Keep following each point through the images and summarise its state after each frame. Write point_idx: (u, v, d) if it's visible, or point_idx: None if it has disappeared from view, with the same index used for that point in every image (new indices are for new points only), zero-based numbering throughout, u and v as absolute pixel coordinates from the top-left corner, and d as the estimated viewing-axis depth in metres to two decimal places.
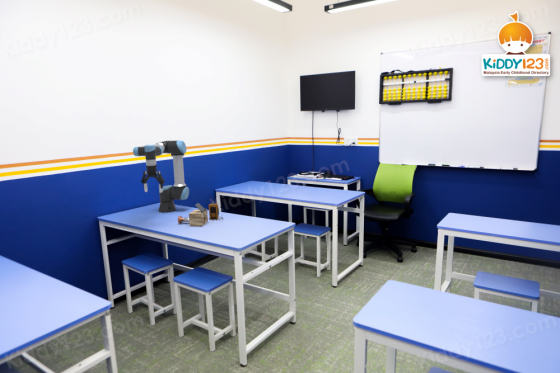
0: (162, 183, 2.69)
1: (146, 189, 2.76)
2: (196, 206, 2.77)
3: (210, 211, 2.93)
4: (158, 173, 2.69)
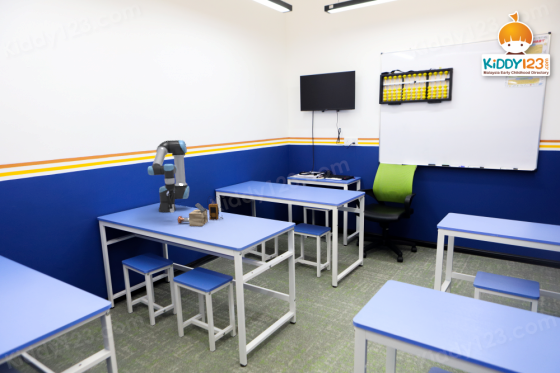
0: (168, 204, 2.81)
1: None
2: (196, 206, 2.77)
3: (210, 211, 2.93)
4: (166, 195, 2.77)
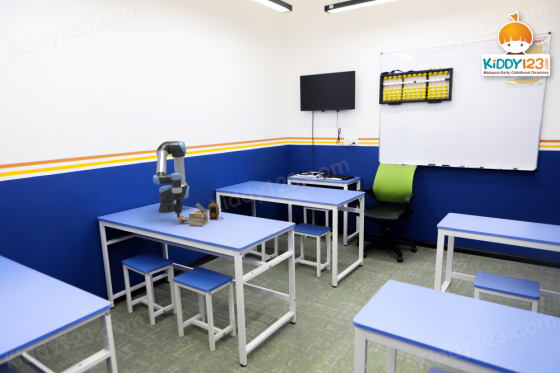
0: (175, 212, 2.81)
1: None
2: (196, 206, 2.77)
3: (210, 211, 2.93)
4: (173, 204, 2.77)
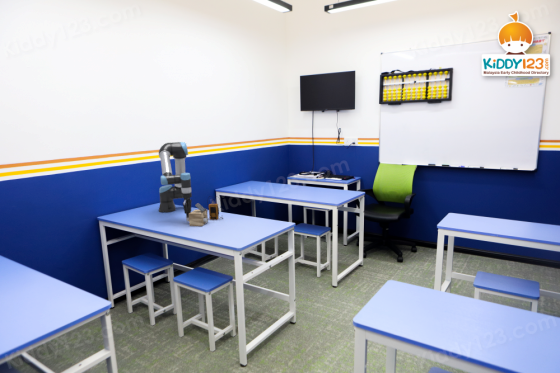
0: (185, 213, 2.80)
1: None
2: (196, 206, 2.77)
3: (210, 211, 2.93)
4: (183, 204, 2.76)
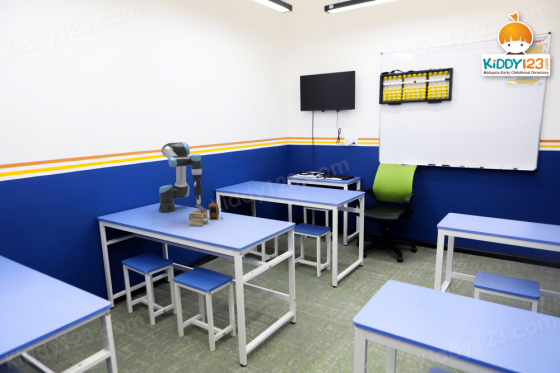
0: (195, 194, 2.76)
1: None
2: (196, 206, 2.77)
3: (210, 211, 2.93)
4: None
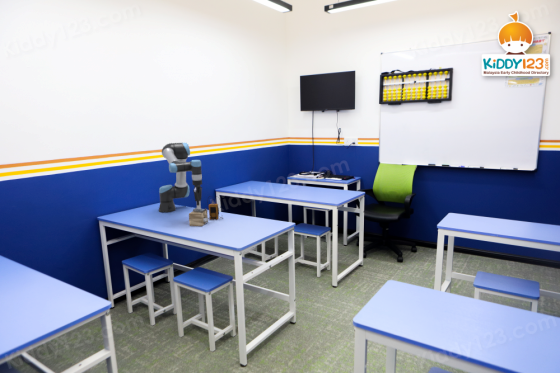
0: (195, 200, 2.77)
1: None
2: (194, 210, 2.78)
3: (210, 211, 2.93)
4: (193, 191, 2.73)
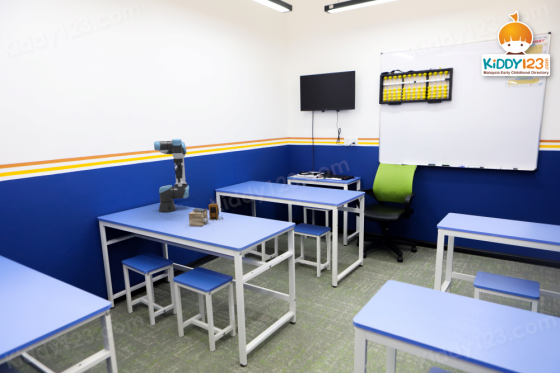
0: (176, 178, 2.90)
1: None
2: (194, 210, 2.78)
3: (210, 211, 2.93)
4: None
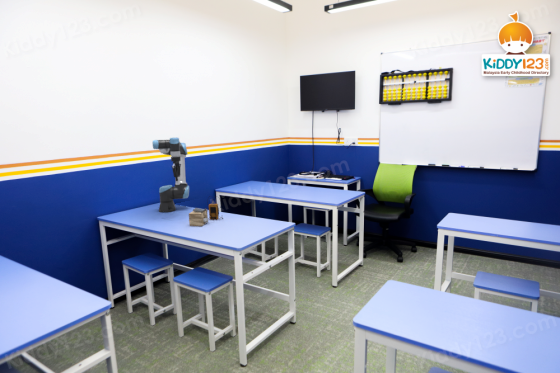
0: (174, 176, 2.91)
1: None
2: (194, 210, 2.78)
3: (210, 211, 2.93)
4: (172, 167, 2.87)
